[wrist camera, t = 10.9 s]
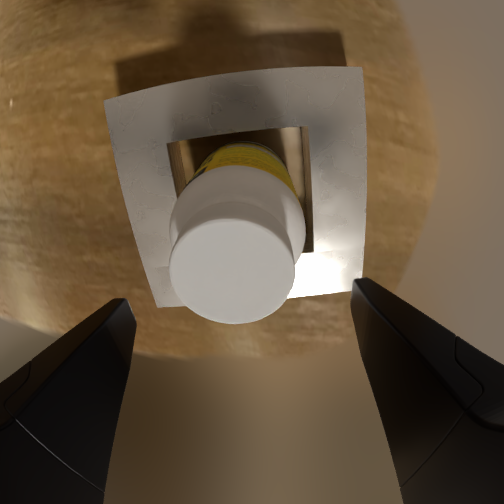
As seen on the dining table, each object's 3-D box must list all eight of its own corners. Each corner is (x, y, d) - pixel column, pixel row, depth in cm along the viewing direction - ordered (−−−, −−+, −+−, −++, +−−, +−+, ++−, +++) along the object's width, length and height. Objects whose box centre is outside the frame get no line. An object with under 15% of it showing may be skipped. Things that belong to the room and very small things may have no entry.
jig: (166, 285, 22) (157, 307, 19) (122, 98, 15) (103, 100, 13) (350, 268, 21) (360, 289, 19) (347, 69, 15) (362, 67, 12)
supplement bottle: (209, 129, 16) (160, 170, 8) (300, 154, 17) (349, 221, 9) (189, 214, 19) (141, 319, 10) (273, 235, 20) (287, 352, 11)
